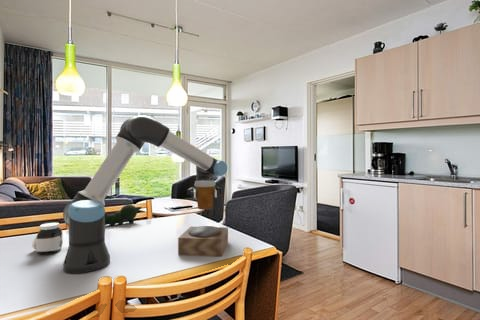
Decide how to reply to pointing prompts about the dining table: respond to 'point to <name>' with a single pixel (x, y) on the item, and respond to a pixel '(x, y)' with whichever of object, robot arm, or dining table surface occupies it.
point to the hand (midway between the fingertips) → (205, 194)
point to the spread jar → (48, 239)
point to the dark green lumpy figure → (122, 214)
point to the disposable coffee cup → (205, 193)
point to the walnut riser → (203, 241)
